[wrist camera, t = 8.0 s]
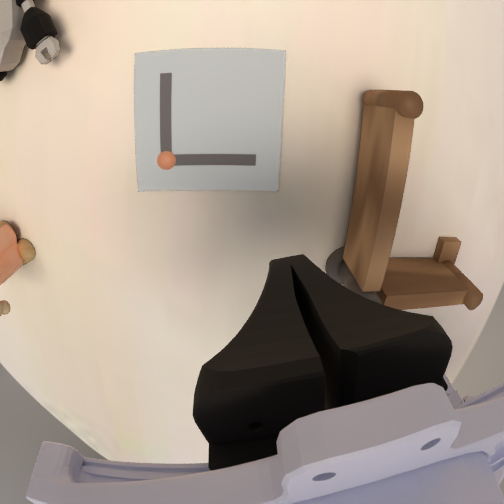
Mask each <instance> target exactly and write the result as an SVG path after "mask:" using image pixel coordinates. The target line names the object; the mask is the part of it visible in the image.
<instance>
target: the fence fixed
mask: <svg viewBox="0 0 504 504" xmlns="http://www.w3.org/2000/svg"><path fill="white" fill-rule="evenodd" d="M460 245H461V241H460V240H458V239H457V238H448V237H439V240H438V244H437V247H436V251H435V254H434V257H433V258H389V260H388V264H387V268H386V272H385V275H384V279H383V283H382V286H381V290H380V291H375V293H376V295H377V296H378V298H379V299H380V301H381V303H382V304H383V305H385V306H388V307H392V308H395V309H399V310H404V309H416V308H428V307H438V306H448V305H457V304H464V305H465V306H466V307H467V308H468V309H469V310H473V309H475V308H476V307H478V306H479V304H480V303H481V301H482V299H483V294H482V293H481V292H480V290H479V289H478V288H477V287H476V286H475V285H474V284H473V283H472V282H471V281H470V280H469V279H468V278H467V277H466V276H465V275H464V274H463V273H462V272H461V271H460V270H459V269H458V268H457V267H456V266H455V265H454V264H455V261H456V258H457V255H458V251H459V248H460ZM344 249H345V247H343V248H340V249H338V250H336V251H334V252H333V253H332V254H331V255H330V257H329V258H328V260H327V262H326V272H327V275H328V276H330V277H331V278H332V279H334V280H335V281H337V282H338V283H340V284H343V283H342V281H341V279H340V277H339V275H338V268H339V266H340V265H341V264H342V263H343V262H345V261H344V259H343V254H344Z"/></svg>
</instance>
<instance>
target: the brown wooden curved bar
mask: <svg viewBox="0 0 504 504" xmlns="http://www.w3.org/2000/svg"><path fill="white" fill-rule="evenodd" d="M363 103H364V109H363V120H362V130H361V140H360V149H359V157H358V165H357V173H356V181H355V188H354V195H353V201H352V208H351V214H350V220H349V226H348V232H347V238H346V243H345V249H344V254H343V259H344V261H345V262H343V263H342V264H341V265H340V266H339V268H338V275H339V277H340V279H341V281H342V283H343V285H344V287H346V288H348V289H349V290H351V291H353V292H355V293H357V294H359V295H361V296H363V297H365V298H367V299H370V300H372V301H375V302H377V303H380V304H382V303H381V301H380V299H379V298H378V296H377V295H376V293H375V291H380V290H381V286H382V283H383V279H384V275H385V272H386V268H387V264H388V260H389V256H390V252H391V248H392V244H393V240H394V236H395V231H396V227H397V222H398V218H399V213H400V208H401V203H402V198H403V193H404V187H405V182H406V176H407V170H408V164H409V157H410V150H411V143H412V135H413V127H414V118H417V117H419V116H420V115H421V113H422V111H423V101H422V99H421V97H420V96H419V95H418V94H417V93H416V92H413V91H399V90H368V91H367V92H365V94H364V96H363ZM382 305H383V304H382Z"/></svg>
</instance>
